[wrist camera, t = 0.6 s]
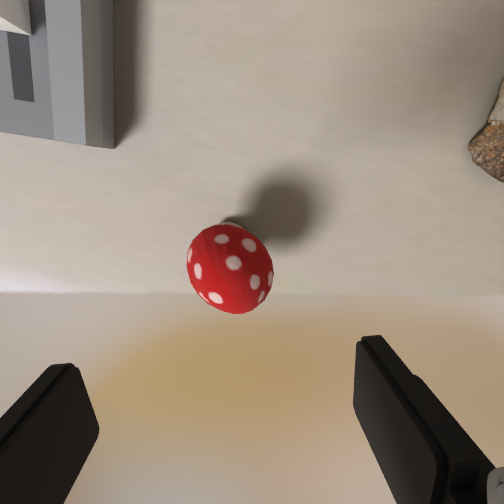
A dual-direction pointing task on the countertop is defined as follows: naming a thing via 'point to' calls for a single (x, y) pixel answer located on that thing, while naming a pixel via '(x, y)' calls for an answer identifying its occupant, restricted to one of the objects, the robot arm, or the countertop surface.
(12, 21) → the knob
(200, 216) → the countertop surface
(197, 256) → the decorative mushroom
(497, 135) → the rock
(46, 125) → the panel
